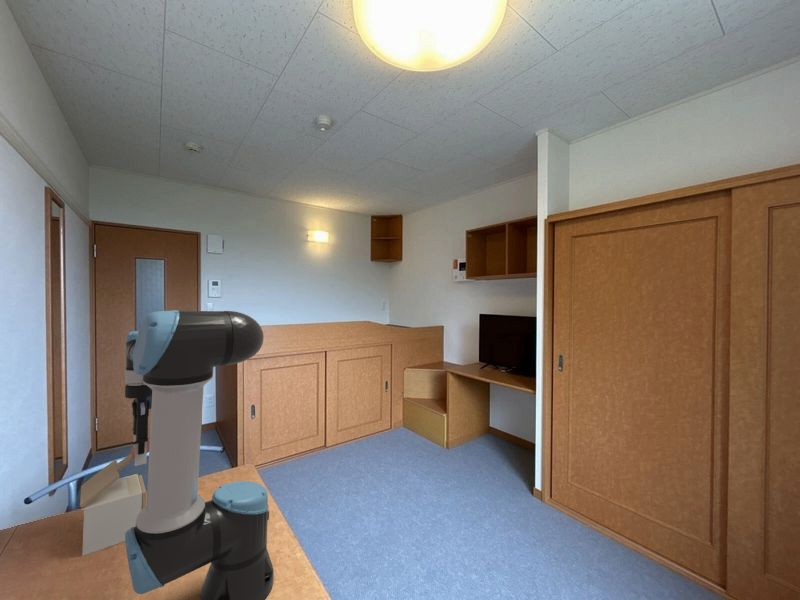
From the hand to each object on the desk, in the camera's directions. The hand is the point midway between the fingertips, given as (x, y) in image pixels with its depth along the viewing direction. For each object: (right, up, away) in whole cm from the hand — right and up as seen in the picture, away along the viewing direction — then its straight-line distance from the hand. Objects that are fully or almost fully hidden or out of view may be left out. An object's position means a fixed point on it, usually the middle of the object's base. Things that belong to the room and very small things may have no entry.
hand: (139, 460), depth 100 cm
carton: (-5, -19, -4) cm, 20 cm away
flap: (-3, -1, -3) cm, 5 cm away
